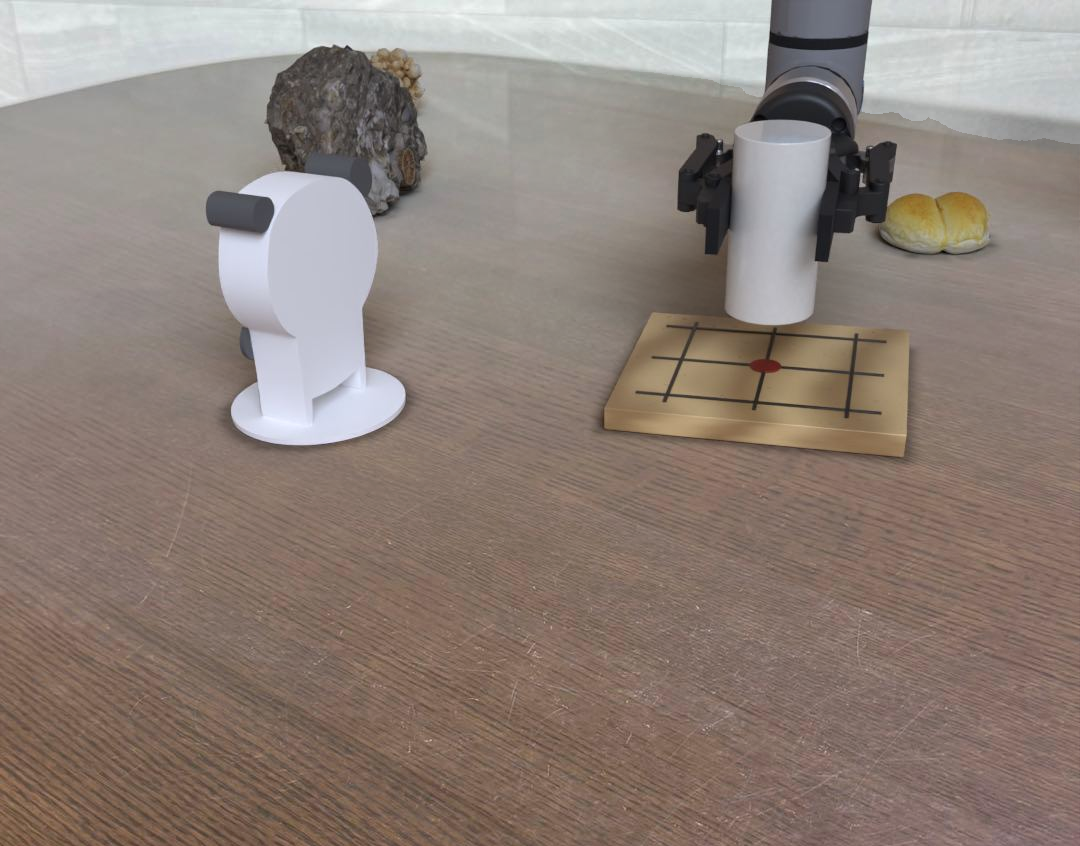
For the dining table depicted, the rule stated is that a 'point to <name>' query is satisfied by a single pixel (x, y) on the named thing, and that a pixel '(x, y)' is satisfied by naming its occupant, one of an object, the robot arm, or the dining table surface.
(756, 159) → the white tube
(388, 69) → the mineral formation
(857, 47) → the robot arm
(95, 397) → the dining table surface
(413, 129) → the rock
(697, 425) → the game board
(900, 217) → the bread roll
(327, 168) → the white plastic upright piece
